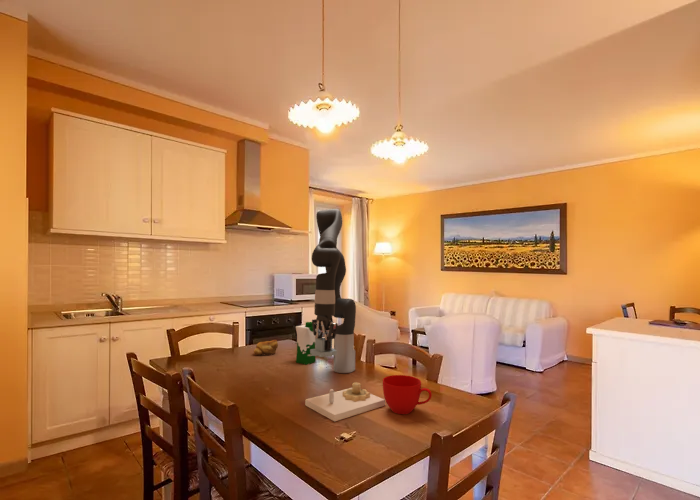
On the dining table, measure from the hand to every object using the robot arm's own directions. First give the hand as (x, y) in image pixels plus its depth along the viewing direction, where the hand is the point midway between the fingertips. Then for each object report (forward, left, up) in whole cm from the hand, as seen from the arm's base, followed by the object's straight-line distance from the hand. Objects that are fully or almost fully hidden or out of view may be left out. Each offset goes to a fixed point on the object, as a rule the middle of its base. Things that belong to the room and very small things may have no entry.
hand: (323, 349), depth 136 cm
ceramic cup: (-16, +26, -18) cm, 36 cm away
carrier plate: (-3, +9, -18) cm, 21 cm away
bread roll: (-14, -75, -18) cm, 79 cm away
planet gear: (0, 0, -2) cm, 2 cm away
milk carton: (-23, -48, -18) cm, 56 cm away
